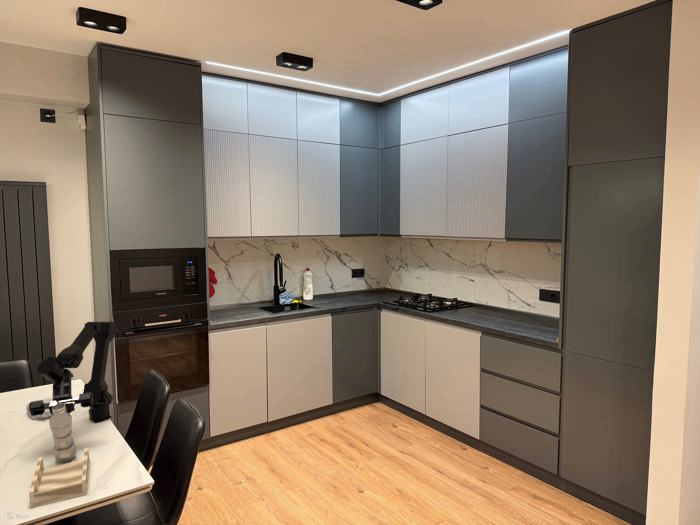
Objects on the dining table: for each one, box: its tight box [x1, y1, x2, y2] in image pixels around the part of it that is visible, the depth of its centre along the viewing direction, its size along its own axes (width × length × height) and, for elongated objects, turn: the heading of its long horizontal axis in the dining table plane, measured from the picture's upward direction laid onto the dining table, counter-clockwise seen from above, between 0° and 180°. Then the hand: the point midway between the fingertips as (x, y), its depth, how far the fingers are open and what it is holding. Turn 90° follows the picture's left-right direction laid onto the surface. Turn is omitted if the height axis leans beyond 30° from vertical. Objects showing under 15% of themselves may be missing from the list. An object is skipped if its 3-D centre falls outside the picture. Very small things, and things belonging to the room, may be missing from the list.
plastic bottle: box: [48, 403, 77, 463], centre depth 164 cm, size 6×7×20 cm
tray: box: [28, 446, 90, 509], centre depth 153 cm, size 23×14×4 cm, turn 26°
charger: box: [25, 398, 52, 421], centre depth 205 cm, size 5×9×15 cm
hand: (62, 427), depth 167 cm, fingers closed
